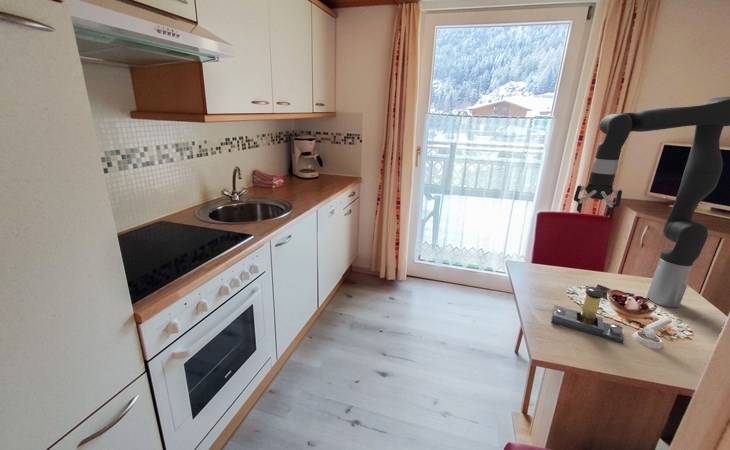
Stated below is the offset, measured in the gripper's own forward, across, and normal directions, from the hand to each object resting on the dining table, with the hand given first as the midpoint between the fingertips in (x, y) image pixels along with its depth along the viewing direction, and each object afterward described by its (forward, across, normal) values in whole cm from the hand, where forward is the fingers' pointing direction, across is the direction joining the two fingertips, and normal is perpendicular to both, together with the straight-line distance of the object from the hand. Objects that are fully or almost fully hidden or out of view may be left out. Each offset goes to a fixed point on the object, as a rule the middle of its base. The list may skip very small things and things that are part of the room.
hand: (592, 214), depth 124 cm
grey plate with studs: (+33, +4, -26) cm, 42 cm away
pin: (+33, +4, -26) cm, 42 cm away
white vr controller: (+33, +21, -23) cm, 46 cm away
